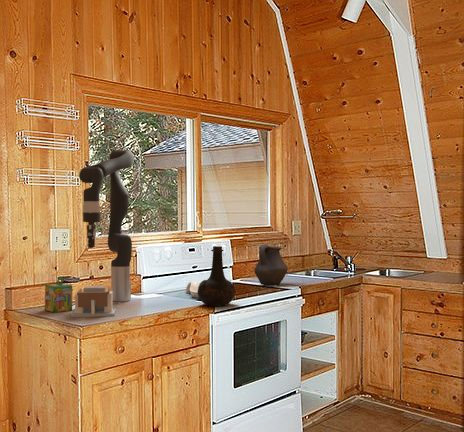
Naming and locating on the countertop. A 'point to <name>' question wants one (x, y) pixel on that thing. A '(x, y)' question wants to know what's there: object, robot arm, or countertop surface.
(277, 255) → the pitcher
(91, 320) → the countertop surface
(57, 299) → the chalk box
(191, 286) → the spoon rest
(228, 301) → the glass bottle
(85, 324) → the countertop surface
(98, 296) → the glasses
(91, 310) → the display stand
